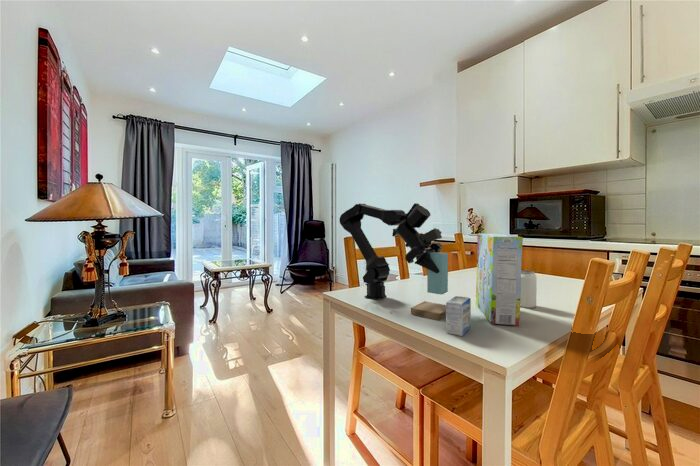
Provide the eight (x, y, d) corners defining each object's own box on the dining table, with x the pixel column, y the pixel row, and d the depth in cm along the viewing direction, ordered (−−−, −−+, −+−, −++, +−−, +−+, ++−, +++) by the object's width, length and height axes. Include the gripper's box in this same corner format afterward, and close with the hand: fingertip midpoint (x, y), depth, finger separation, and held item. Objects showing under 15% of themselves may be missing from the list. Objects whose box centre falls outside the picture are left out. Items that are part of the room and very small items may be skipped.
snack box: (523, 327, 84) (524, 236, 83) (490, 325, 86) (491, 236, 85) (500, 305, 106) (501, 232, 104) (474, 304, 107) (475, 232, 106)
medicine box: (462, 336, 78) (462, 304, 78) (445, 333, 81) (445, 301, 80) (470, 328, 84) (471, 297, 84) (455, 324, 87) (455, 295, 87)
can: (540, 308, 101) (541, 273, 101) (521, 308, 102) (521, 273, 101) (529, 303, 108) (529, 270, 107) (511, 303, 108) (511, 270, 107)
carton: (427, 292, 99) (427, 253, 99) (433, 289, 103) (433, 252, 103) (442, 294, 96) (442, 254, 96) (447, 291, 100) (447, 253, 100)
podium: (410, 313, 97) (410, 307, 97) (424, 306, 105) (424, 301, 105) (440, 320, 91) (440, 313, 91) (452, 312, 98) (452, 306, 98)
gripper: (413, 221, 94) (448, 258, 88) (437, 220, 108) (468, 252, 102) (392, 244, 99) (423, 281, 93) (417, 241, 114) (445, 273, 107)
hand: (441, 271), depth 99 cm, fingers closed on carton, 5 cm apart
